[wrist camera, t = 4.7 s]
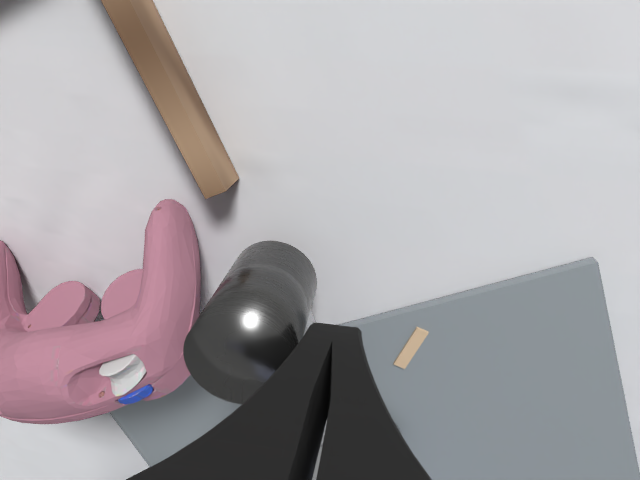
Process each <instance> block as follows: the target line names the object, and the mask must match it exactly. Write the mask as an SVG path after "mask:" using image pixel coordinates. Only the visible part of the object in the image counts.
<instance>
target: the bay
mask: <svg viewBox="0 0 640 480" xmlns="http://www.w3.org/2000/svg"><path fill="white" fill-rule="evenodd" d="M101 1H102V3H103V5H104V7H105V9H106V11H107V13H108V15H109V17H110V18H111V20H112V22H113V24H114V26H115V28H116V30H117V32H118V34H119V36H120V37H121V39H122V41H123V43H124V45H125V47H126V49H127V51H128V53H129V55H130V56H131V58H132V60H133V62H134V64H135V66H136V68H137V70H138V72H139V74H140V76H141V77H142V79H143V81H144V83H145V85H146V87H147V89H148V91H149V93H150V95H151V96H152V98H153V100H154V102H155V104H156V106H157V108H158V110H159V112H160V114H161V116H162V117H163V119H164V121H165V123H166V125H167V127H168V129H169V131H170V133H171V135H172V136H173V138H174V140H175V142H176V144H177V146H178V148H179V150H180V152H181V154H182V155H183V157H184V159H185V161H186V163H187V165H188V167H189V169H190V171H191V173H192V175H193V176H194V178H195V180H196V182H197V184H198V186H199V188H200V190H201V192H202V194H203V195H204V197H205V199H207V198H210V197H212V196H215V195H218V194H220V193H223V192H225V191H227V190H228V189H229V188H230V187H231V186H232V185H233V184H234V183H235V182H236V181H237V180H238V179H239V177H238V175H237V173H236V171H235V168H234V166H233V164H232V162H231V160H230V158H229V156H228V154H227V152H226V150H225V148H224V146H223V144H222V142H221V140H220V138H219V136H218V134H217V132H216V129H215V127H214V125H213V123H212V121H211V119H210V117H209V115H208V113H207V111H206V109H205V107H204V105H203V103H202V101H201V99H200V97H199V95H198V93H197V91H196V88H195V86H194V84H193V82H192V80H191V78H190V76H189V74H188V72H187V70H186V68H185V66H184V64H183V62H182V60H181V58H180V56H179V54H178V52H177V49H176V47H175V45H174V43H173V41H172V39H171V37H170V35H169V33H168V31H167V29H166V27H165V25H164V23H163V21H162V19H161V17H160V15H159V13H158V10H157V8H156V6H155V4H154V2H153V0H101Z"/></svg>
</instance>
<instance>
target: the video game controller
mask: <svg viewBox="0 0 640 480" xmlns="http://www.w3.org/2000/svg"><path fill="white" fill-rule="evenodd" d="M200 286H201V272H200V256H199V247H198V240H197V237H196V233H195V230H194V226H193V223H192V220H191V218H190V216H189V214H188V212H187V210H186V208H185V207H184V206H183V205H181V204H180V203H178V202H177V201H175V200H172V199H165V200H163V201H160V202H159V203H158V204H157V206H156V207H155V208H154V210H153V211H152V213H151V215H150V218H149V221H148V224H147V226H146V229H145V245H144V259H143V269H137V270H133V271H129V272H127V273H125V274H123V275H121V276H120V277H118V278H117V279H116V280H115V281H114V282H112V283H111V284H110V286H109V287H108V288H107V290H106V291H105V294H104V296H103V298H102V302H101V313H102V315H103V318H104V319H105V320H102V321H97V322H94V321H95V319H96V317H97V315H98V312H99V308H100V300H99V298H98V296H97V295H96V294H95V293H93V292H92V291H91V290H90V289H88V288H87V287H86V286H84V285H83V284H82V283H80V282H77V281H68V282H65V283H61V284H60V285H58V286H56V287H55V288H53V289H52V290H51V291H50V292H48V293H47V294H46V295H45V296H44V297H43V299H42V300H41V301H40V302H39V303H38V305H37V306H36V307H35V308H34V309H33V310H32V311H31V312H30V313H29V314H27V312H26V309H25V305H24V300H23V292H22V284H21V278H20V273H19V270H18V267H17V264H16V261H15V258H14V256H13V255H12V253H11V251H10V250H9V248H8V247H7V246H6V245H5V243H4V242H3V241H1V240H0V416H1V417H4V418H7V419H9V420H13V421H17V422H22V423H33V424H58V423H65V422H72V421H78V420H83V419H87V418H90V417H94V416H98V415H101V414H105V413H108V412H111V411H113V410H116V409H118V408H120V407H123V406H125V405H128V404H132V403H135V402H138V401H140V400H144V401H150V400H154V399H158V398H161V397H163V396H165V395H167V394H169V393H171V392H172V391H174V390H175V389H177V388H178V387H179V386H180V385H181V384H182V383H183V382H184V381H185V380H186V379H187V378H188V377H189V376H190V375H191V374H190V372H189V371H188V369H187V366H186V364H185V361H184V355H183V347H184V342H185V338H186V336H187V334H188V332H189V331H190V329H191V328H192V326H193V325H194V323H195V322H196V320H197V319H198V317H199V311H200Z"/></svg>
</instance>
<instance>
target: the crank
mask: <svg viewBox="0 0 640 480" xmlns="http://www.w3.org/2000/svg"><path fill="white" fill-rule="evenodd" d="M316 286H317V278H316V273H315V270H314V268H313V266H312V264H311V262H310V261H309V259H308V258H307V257H306V256H305V255H304V254H303V253H302V252H301V251H299V250H298V249H296V248H295V247H293V246H291V245H288V244H286V243H282V242H278V241H263V242H259V243H256V244H253V245H251V246H249V247H248V248H246V249H245V250H244V251H243V252H242V253H241V254H240V256H239V257H238V258H237V260H236V261H235V263H234V264H233V266H232V267H231V269H230V270H229V272H228V273H227V275H226V276H225V278H224V280H223V281H222V283H221V284H220V286H219V287H218V289H217V290H216V292H215V293H214V295H213V296H212V298H211V299H210V301H209V302H208V304H207V305H206V307H205V308H204V310H203V311H202V313H201V314H200V316H199V317H198V319H197V320H196V322H195V323H194V325H193V326H192V328H191V329H190V331H189V332H188V334H187V336H186V338H185V342H184V347H183V355H184V361H185V364H186V366H187V369H188V371H189V372H190V374H191V375H192V377H193V378H194V379H195V381H196V382H197V383H198V384H199V385H200V386H201V387H202V388H204V389H205V390H206V391H208V392H209V393H211V394H212V395H214V396H216V397H218V398H220V399H223V400H225V401H228V402H232V403H237V404H243V403H244V402H245V401H246V400H248V399H249V398H250V397H251V396H252V395H253V394H254V393H255V392H256V391H257V390H258V389H259V388H260V387H261V386H262V385H263V384H264V383H265V382H266V381H267V380H268V379H269V378H270V377H271V375H272V374H273V373H274V372H275V371H276V370H277V369H278V368H279V367H280V366H281V364H282V363H283V362H284V361H285V359H286V358H287V357H288V356H289V355H290V353H291V352H292V351H293V350H294V348H295V347H296V346H297V344H298V343H299V342H300V340H301V339H302V337H303V336H304V334H305V333H306V331H307V330H308V328H309V326H310V325H311V324H313V323H316V321H315V318H314V316H313V313H312V311H311V306H312V302H313V299H314V295H315V291H316ZM394 423H395V422H394ZM326 424H327V420H326ZM326 424H325V429H324V433H323V437H322V441H321V445H320V449H319V453H318V457H317V461H316V465H315V469H314V474H313V478H312V480H316V478H317V473H318V467H319V462H320V457H321V452H322V446H323V441H324V435H325V430H326ZM395 424H396V423H395ZM396 426H397V428H398V430H399V431H400V428H399V427H398V425H397V424H396ZM400 433H401V431H400ZM401 435H402V433H401ZM402 437H403V436H402Z"/></svg>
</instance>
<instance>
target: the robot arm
mask: <svg viewBox="0 0 640 480" xmlns="http://www.w3.org/2000/svg"><path fill="white" fill-rule="evenodd" d="M326 420H327V424H326ZM325 424H326V430H325V435H324V441H323V446H322V452H321V457H320V462H319V467H318V473H317V478H316V480H432V479H431V478H430V476H429V475H428V474H427V472H426V471H425V469H424V468H423V467H422V465H421V464H420V462H419V461H418V460H417V458H416V457H415V456H414V454H413V453H412V451H411V449H410V448H409V446H408V445H407V443H406V441H405V440H404V438H403V437H402V435H401V433H400V431H399V430H398V428H397V426H396V424H395V423H394V421H393V419H392V417H391V415H390V413H389V411H388V409H387V407H386V405H385V403H384V401H383V399H382V397H381V395H380V392H379V390H378V388H377V385H376V383H375V380H374V377H373V375H372V372H371V370H370V367H369V364H368V361H367V357H366V354H365V350H364V346H363V341H362V332H361V330H360V329H359V328H358V327H349V326H340V325H332V324H323V323H313V324H311V325H310V326H309V328H308V330H307V331H306V333H305V334H304V336H303V337H302V339H301V340H300V342H299V343H298V344H297V346H296V347H295V348H294V350H293V351H292V352H291V353H290V355H289V356H288V357H287V358H286V359H285V361H284V362H283V363H282V364H281V366H280V367H279V368H278V369H277V370H276V371H275V372H274V373H273V374H272V375H271V377H270V378H269V379H268V380H267V381H266V382H265V383H264V384H263V385H262V386H261V387H260V388H259V389H258V390H257V391H256V392H255V393H254V394H253V395H252V396H251V397H250V398H249V399H248V400H246V401H245V402H244V403H243V404H242V405H241V406H240V407H238V408H237V409H236V410H235V411H234V412H233V413H231V414H230V415H229V416H227V417H226V418H225V419H224V420H222V421H221V422H220V423H219V424H217V425H216V426H215V427H213V428H212V429H211V430H209V431H208V432H207V433H205V434H204V435H202V436H201V437H199V438H198V439H196V440H195V441H193V442H192V443H190V444H188V445H187V446H185V447H184V448H182V449H181V450H179V451H178V452H176V453H174V454H173V455H171V456H170V457H168V458H166V459H164V460H163V461H161V462H159V463H157V464H155V465H153V466H151V467H150V468H148V469H146V470H144V471H142V472H140V473H138V474H136V475H134V476H132V477H130V478H128V479H126V480H312V478H313V474H314V469H315V465H316V461H317V457H318V453H319V449H320V445H321V441H322V437H323V433H324V429H325Z"/></svg>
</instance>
